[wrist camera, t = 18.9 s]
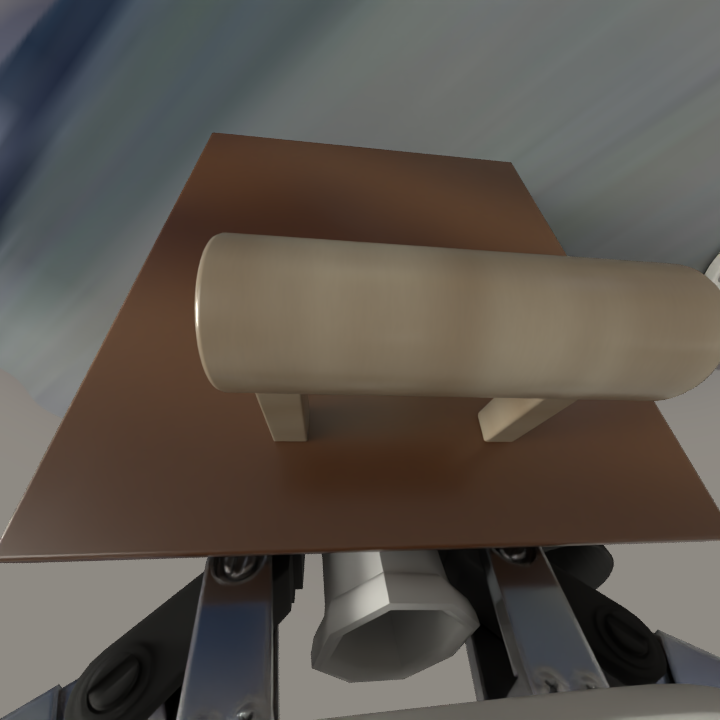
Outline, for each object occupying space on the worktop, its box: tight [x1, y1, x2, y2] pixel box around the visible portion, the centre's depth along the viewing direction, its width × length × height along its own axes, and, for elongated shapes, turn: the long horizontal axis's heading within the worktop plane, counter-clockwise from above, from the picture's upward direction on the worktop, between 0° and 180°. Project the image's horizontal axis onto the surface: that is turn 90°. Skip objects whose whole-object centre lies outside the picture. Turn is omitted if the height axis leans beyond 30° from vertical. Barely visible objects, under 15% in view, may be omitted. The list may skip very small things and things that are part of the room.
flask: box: [311, 550, 480, 683], centre depth 10 cm, size 7×7×10 cm
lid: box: [0, 133, 720, 563], centre depth 8 cm, size 16×14×5 cm
